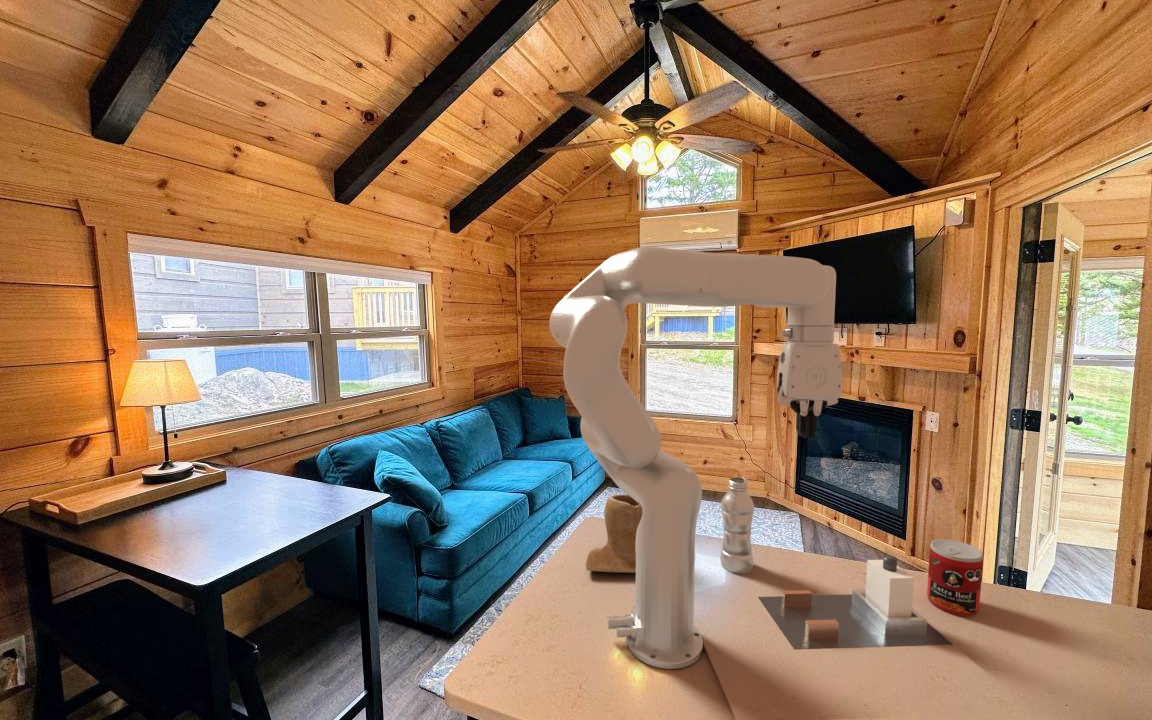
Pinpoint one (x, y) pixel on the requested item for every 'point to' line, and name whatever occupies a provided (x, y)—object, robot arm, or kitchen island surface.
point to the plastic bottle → (737, 527)
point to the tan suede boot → (617, 537)
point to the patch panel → (845, 622)
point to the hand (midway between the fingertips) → (805, 435)
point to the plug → (889, 587)
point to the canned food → (954, 577)
